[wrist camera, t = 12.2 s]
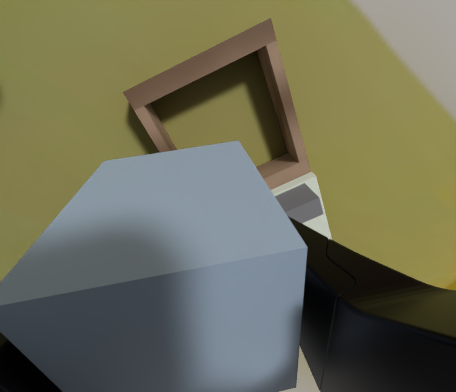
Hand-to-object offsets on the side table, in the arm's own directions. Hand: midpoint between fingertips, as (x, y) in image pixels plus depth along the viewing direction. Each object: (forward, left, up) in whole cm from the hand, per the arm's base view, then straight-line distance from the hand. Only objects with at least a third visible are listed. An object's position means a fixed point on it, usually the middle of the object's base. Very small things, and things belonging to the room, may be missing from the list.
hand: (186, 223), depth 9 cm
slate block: (0, 0, -1) cm, 1 cm away
